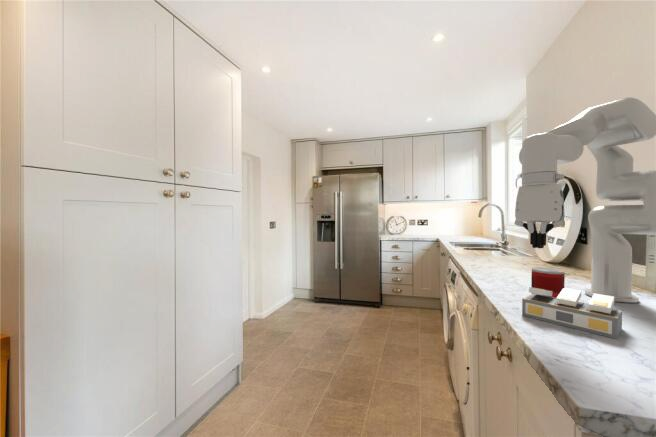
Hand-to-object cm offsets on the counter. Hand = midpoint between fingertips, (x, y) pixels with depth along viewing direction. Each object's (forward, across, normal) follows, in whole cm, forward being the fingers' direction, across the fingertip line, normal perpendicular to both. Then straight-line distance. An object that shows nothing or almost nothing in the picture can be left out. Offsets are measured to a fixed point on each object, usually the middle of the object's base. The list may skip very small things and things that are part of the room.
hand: (538, 247), depth 73 cm
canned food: (+19, +2, -16) cm, 25 cm away
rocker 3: (+13, -12, -3) cm, 18 cm away
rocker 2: (+13, -6, -3) cm, 14 cm away
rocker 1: (+13, 0, -3) cm, 13 cm away
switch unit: (+19, -6, -3) cm, 20 cm away
